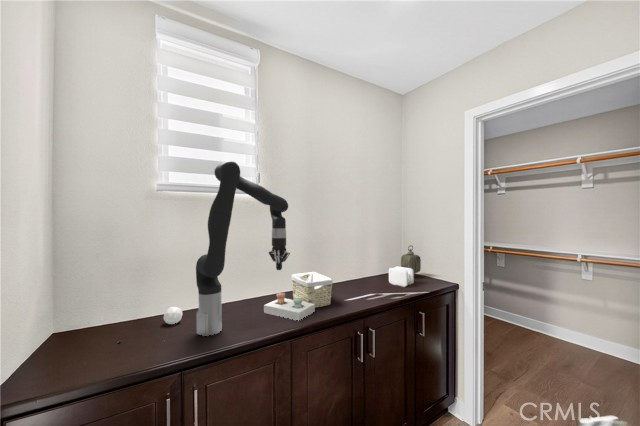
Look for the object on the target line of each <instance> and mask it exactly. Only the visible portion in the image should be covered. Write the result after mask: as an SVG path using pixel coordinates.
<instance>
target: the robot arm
mask: <svg viewBox="0 0 640 426" xmlns="http://www.w3.org/2000/svg"><path fill="white" fill-rule="evenodd" d="M214 176H215V178H216V179H217V180H218V181H219V188H218V191H217V193H216V195H215V197H214V199H213V202H212V204H211V206H210V209H209V214H208V218H207V233H208V239H209V243H208V249H207V253H206V254H202V255H201V256H200V257H199V258H198V259H197V261H196V265H195V279H196V287H197V290H198V292H197V293H198V310H197V311H196V335H200V336H201V335H202V337H204V336H207V337H210V336H209V335H211V336H215V335H217V334H219V333H221V332H222V329H223V328H222V327H223V324H222V323H223V322H222V321H223V320H222V319H223V318H222V317H223V315H222V312H223V311H222V310H223V309H222V307H223V306H222V283H221V282H220V281H219V276H220V275H221V274H222V273H223V271H224V268H225V261H226V247H227V241H228V237H229V236H228V235H229V231H230V230H229V229H230V226H231V220H232V214H233V213H232V212H233V209H234V208H233V207H234V202H235V196H236V190H238V191H241V192H243V193H245V194H247V195H248V196H250V197H252V198H253V199H254V200H257V201H258V202H259V203H261V204H263V205H265V206H266V205H267V206H269V213H270V217H271V221H272V223H271V224H272V225H271V227H272V228H271V246H272V248H271V250H270V251H268V254H269V256H270V258H271V260H272V262H275V268H276V270H277V271H281V270H282V269H283V263H284V262H286V260H287V259H288V258H289V256H290V255H291V253H290V252H289V251H287V248H286V246H287V229H286V228H287V224H286V217H283V214H282V213H284V212H285V213H286V211H287V210H288V209H289V203H288V201H287V200H286V199H285V198H283V197H282V196H279V195H277V194H275V193H272V192H271V191H269V190H268V189H267V188H265V187H264V186H262V185H259V184H258V183H255V182H254V181H253V182H252V181H250V180H248V179H246V178H244V177H242V176H241V169H240V166H239V164H238V163H237V162H236V161H233V160H227V161H224V162H222V163H220V164H218V165H217V166H216V167H215V168H214ZM220 331H221V332H220ZM214 334H215V335H214Z"/></svg>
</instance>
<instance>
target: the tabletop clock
mask: <svg viewBox="0 0 640 426" xmlns="http://www.w3.org/2000/svg"><path fill="white" fill-rule="evenodd" d="M410 247H412V249H411V248H410ZM407 250H408V252H407V253H405V254H402V255H401V257H400V267H405V268H411V269H413V271H414V279H415V274H417V273H419V272H420V271H421V270H422V269H421V266H422V262H421V261H422V259H421V256H420V255H419V254H415V253H414V251H413V250H414V247H413V245H408V247H407Z"/></svg>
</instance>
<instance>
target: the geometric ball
mask: <svg viewBox="0 0 640 426" xmlns="http://www.w3.org/2000/svg"><path fill="white" fill-rule="evenodd" d="M182 317H183V310H182V309H181V308H180V307H177V306H170V307H168V309H166V310H165V312H164V314H163V320H164V322H165V323H166V324H168V325H176V324H177V323H179V322H180V321H181V320H182ZM175 323H176V324H175Z"/></svg>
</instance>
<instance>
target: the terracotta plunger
mask: <svg viewBox="0 0 640 426" xmlns="http://www.w3.org/2000/svg"><path fill="white" fill-rule="evenodd" d="M276 297H277V298H276V299H278V304H279V305H283V304H284V298H285V297H286V293H285V292H278V293H276Z"/></svg>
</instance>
